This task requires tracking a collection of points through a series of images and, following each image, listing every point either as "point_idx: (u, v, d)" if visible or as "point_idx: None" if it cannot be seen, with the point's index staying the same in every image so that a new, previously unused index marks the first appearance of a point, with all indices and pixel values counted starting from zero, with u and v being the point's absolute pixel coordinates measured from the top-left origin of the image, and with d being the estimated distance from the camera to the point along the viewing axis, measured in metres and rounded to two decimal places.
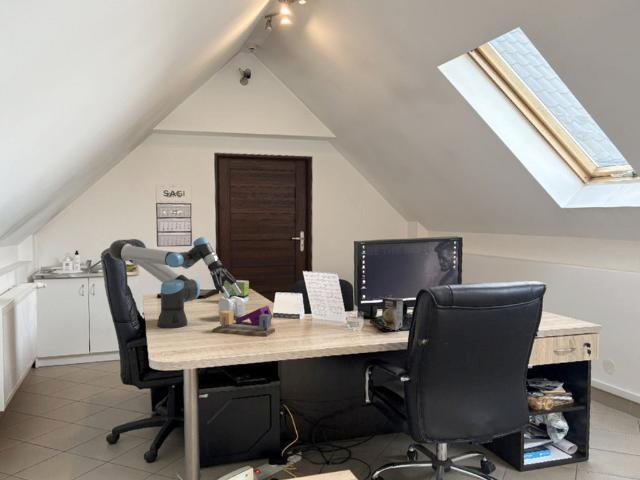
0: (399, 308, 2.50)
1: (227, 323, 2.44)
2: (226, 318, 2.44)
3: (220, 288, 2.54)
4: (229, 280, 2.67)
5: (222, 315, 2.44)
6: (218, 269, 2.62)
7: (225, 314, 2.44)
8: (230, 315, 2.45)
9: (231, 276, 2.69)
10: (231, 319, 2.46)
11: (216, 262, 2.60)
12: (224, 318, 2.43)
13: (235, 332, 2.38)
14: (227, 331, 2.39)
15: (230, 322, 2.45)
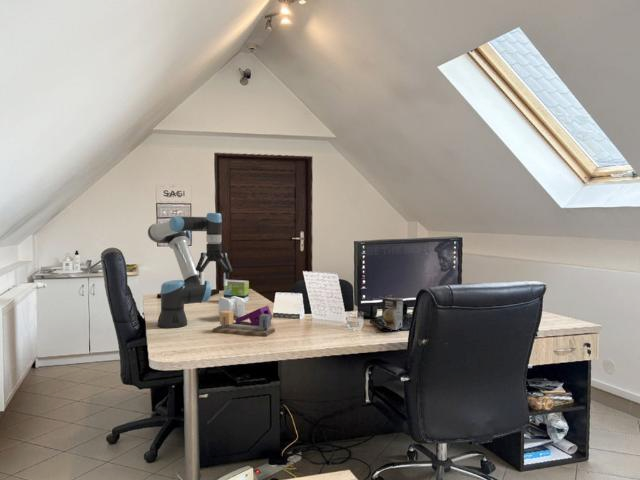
0: (399, 308, 2.50)
1: (227, 323, 2.44)
2: (226, 318, 2.44)
3: None
4: None
5: (222, 315, 2.44)
6: (211, 252, 2.47)
7: (225, 314, 2.44)
8: (230, 315, 2.45)
9: (226, 264, 2.45)
10: (231, 319, 2.46)
11: (207, 246, 2.45)
12: (224, 318, 2.43)
13: (235, 332, 2.38)
14: (227, 331, 2.39)
15: (230, 322, 2.45)
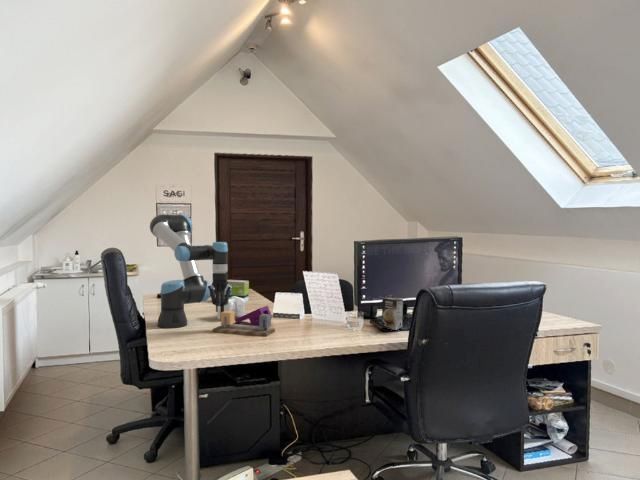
0: (399, 308, 2.50)
1: (228, 323, 2.43)
2: (227, 318, 2.43)
3: None
4: None
5: (223, 315, 2.44)
6: (217, 282, 2.46)
7: (226, 314, 2.43)
8: (231, 315, 2.44)
9: (225, 297, 2.45)
10: (232, 319, 2.46)
11: (213, 275, 2.44)
12: (225, 318, 2.43)
13: (235, 332, 2.38)
14: (227, 331, 2.39)
15: (231, 322, 2.45)
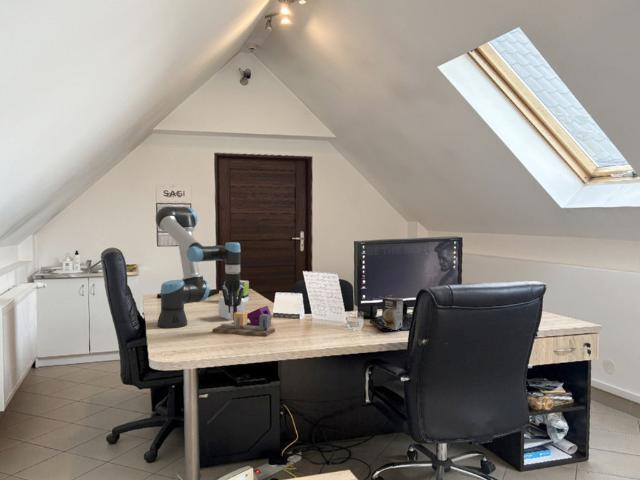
0: (399, 308, 2.50)
1: (241, 324, 2.41)
2: (240, 319, 2.42)
3: None
4: None
5: (236, 316, 2.42)
6: (230, 282, 2.44)
7: (239, 315, 2.42)
8: (244, 316, 2.43)
9: (238, 298, 2.43)
10: (245, 320, 2.44)
11: (226, 276, 2.42)
12: (238, 319, 2.41)
13: (235, 332, 2.38)
14: (227, 331, 2.39)
15: (244, 323, 2.43)
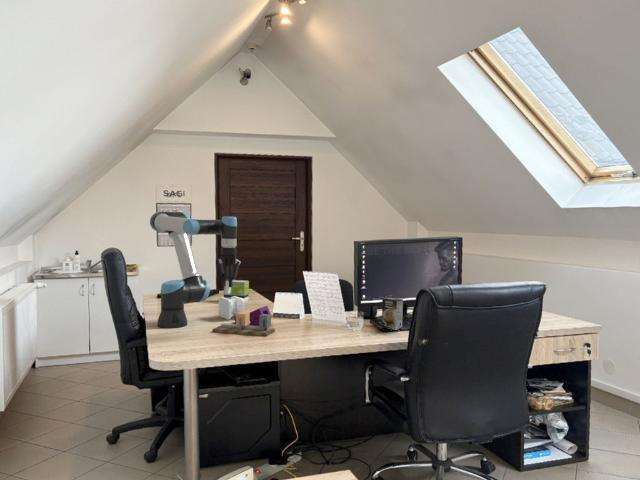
0: (399, 308, 2.50)
1: (243, 324, 2.41)
2: (242, 319, 2.41)
3: None
4: None
5: (238, 316, 2.42)
6: (226, 256, 2.44)
7: (241, 315, 2.41)
8: (246, 316, 2.42)
9: (233, 272, 2.43)
10: (247, 320, 2.44)
11: (222, 250, 2.42)
12: (240, 319, 2.41)
13: (235, 332, 2.38)
14: (227, 331, 2.39)
15: (246, 323, 2.43)
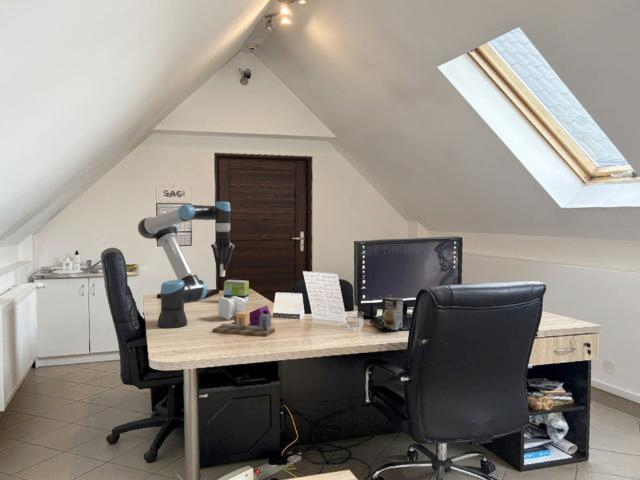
0: (399, 308, 2.50)
1: (243, 324, 2.41)
2: (242, 319, 2.41)
3: None
4: None
5: (238, 316, 2.42)
6: (220, 240, 2.53)
7: (241, 315, 2.41)
8: (246, 316, 2.42)
9: (227, 255, 2.52)
10: (247, 320, 2.44)
11: (216, 234, 2.51)
12: (240, 319, 2.41)
13: (235, 332, 2.38)
14: (227, 331, 2.39)
15: (246, 323, 2.43)
